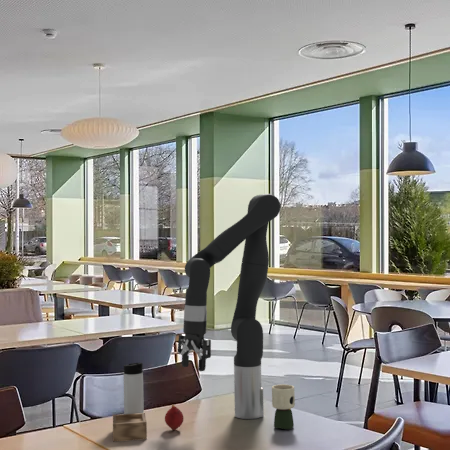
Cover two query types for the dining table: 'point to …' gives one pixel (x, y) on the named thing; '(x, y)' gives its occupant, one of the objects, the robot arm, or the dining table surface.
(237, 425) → the dining table surface
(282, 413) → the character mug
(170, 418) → the onion
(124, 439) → the base
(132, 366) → the travel mug
